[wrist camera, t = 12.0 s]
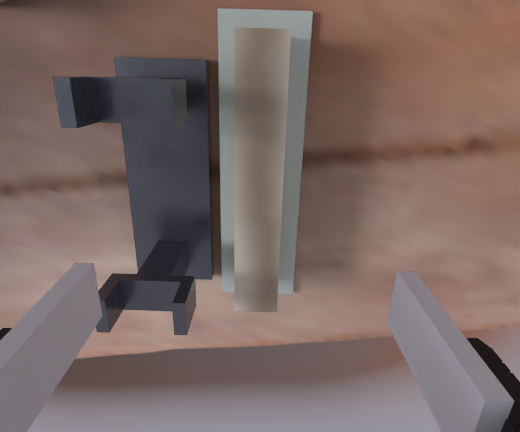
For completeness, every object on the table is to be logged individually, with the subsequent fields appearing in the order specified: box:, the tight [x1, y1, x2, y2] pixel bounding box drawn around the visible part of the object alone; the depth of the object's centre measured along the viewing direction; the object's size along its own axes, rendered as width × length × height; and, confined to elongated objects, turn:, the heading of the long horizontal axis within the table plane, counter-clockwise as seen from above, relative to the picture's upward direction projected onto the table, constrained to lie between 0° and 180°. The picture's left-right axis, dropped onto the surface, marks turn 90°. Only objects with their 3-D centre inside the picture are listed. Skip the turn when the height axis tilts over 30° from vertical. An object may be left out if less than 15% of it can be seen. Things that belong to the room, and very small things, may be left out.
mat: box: [218, 8, 313, 295], centre depth 36 cm, size 8×28×1 cm, turn 179°
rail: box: [234, 27, 291, 312], centre depth 33 cm, size 4×24×6 cm, turn 179°
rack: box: [53, 57, 213, 335], centre depth 31 cm, size 8×22×12 cm, turn 178°
